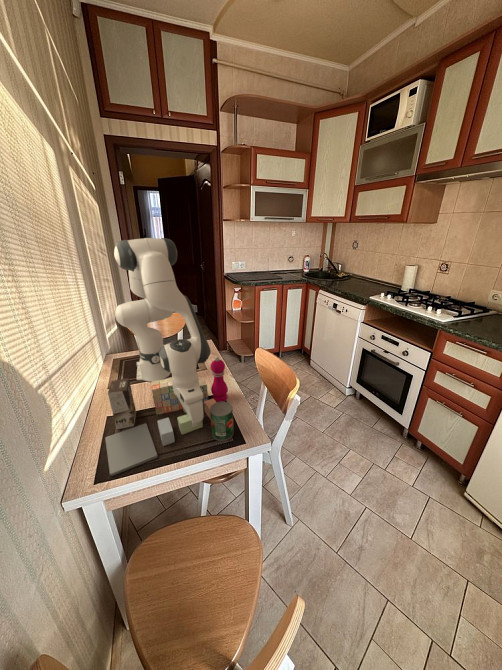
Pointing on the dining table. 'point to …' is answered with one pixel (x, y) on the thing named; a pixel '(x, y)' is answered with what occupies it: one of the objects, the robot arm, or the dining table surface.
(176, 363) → the robot arm
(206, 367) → the dining table surface
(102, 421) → the dining table surface
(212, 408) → the canned tomato
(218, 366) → the pepper mill
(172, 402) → the stack of blocks
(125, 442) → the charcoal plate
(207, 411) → the terracotta brick
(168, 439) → the slate brick
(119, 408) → the coffee box
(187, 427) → the sage brick
